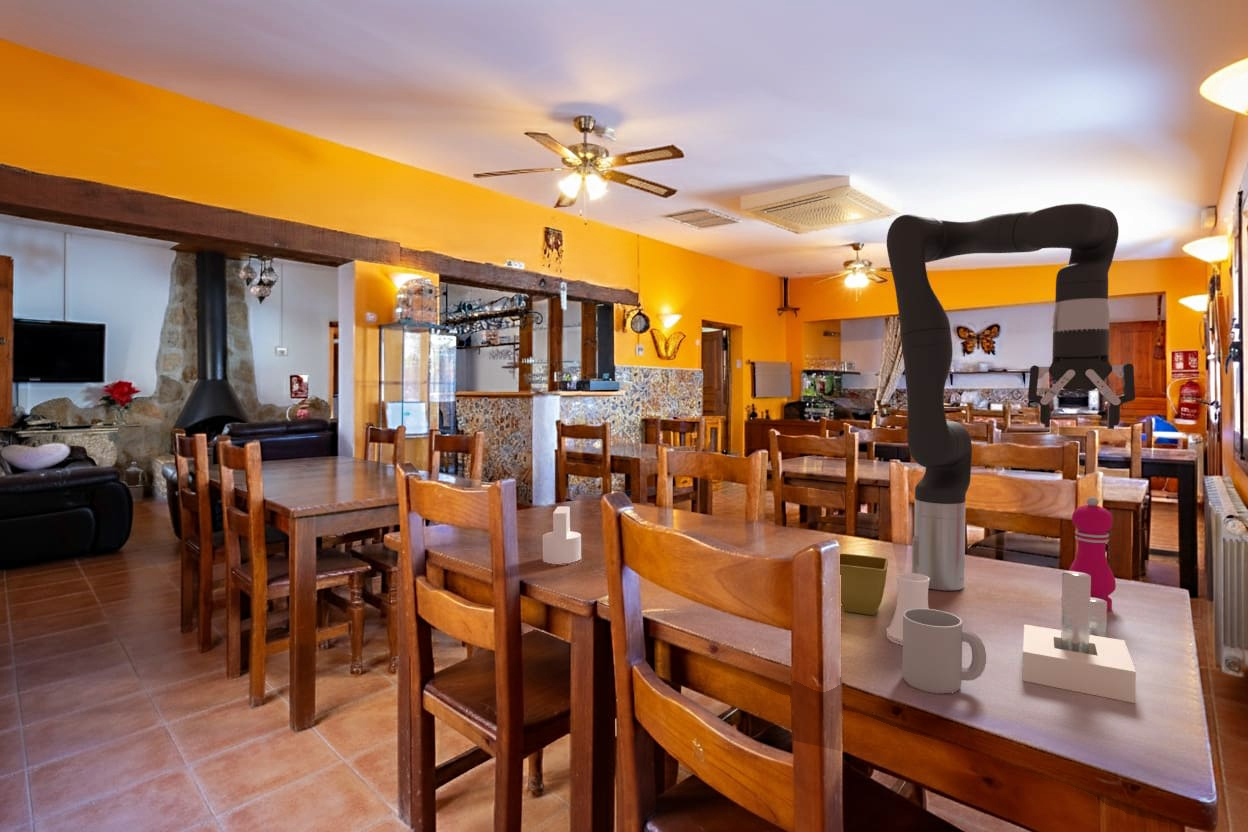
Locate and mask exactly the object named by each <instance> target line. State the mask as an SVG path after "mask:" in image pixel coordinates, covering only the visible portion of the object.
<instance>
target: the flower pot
mask: <svg viewBox="0 0 1248 832" xmlns="http://www.w3.org/2000/svg"><path fill="white" fill-rule="evenodd" d="M839 553H840V575H841V604H842V607H841V608H842V610H843V611H844V612H846V613H847V612H848V613H854V614H855V613H856V614H862V615H867V616H868V615H869V616H874V615H875V614H876V613H877V611H878V610H879V608H880V606H881V604H882V600H883V597H884V592H885V587H886V582H887V575H888V574H887V573H888V566H889V565H888V564H889V559H888V558H887V557H882V556H881V557H880V556H874V555H861V554H854V553H853V554H852V553H843V552H842V553H841V552H839Z"/></svg>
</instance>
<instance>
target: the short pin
mask: <svg viewBox="0 0 1248 832" xmlns="http://www.w3.org/2000/svg"><path fill="white" fill-rule="evenodd" d="M1107 614H1108V611H1107V602H1106V601H1105V600H1102V599H1098V598H1093V597H1090V632H1089V635H1093V636H1100V637H1106V638H1107V625H1108V624H1107V622H1108V621H1107Z"/></svg>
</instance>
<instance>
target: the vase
mask: <svg viewBox="0 0 1248 832" xmlns="http://www.w3.org/2000/svg"><path fill="white" fill-rule="evenodd" d="M895 576H896V585H897V596H896V597H897V600H896V607H895V611H894V615H893V618H892V621H891V623H890V625H889V626H887V627H886V638H887V640H889V641H890V642H892V643H894V644H896V645H899V644H900V646H903V613H904V611H906V610H910V609H919V608H920V609H930V608H929V588H928V587H929V580H930V578H929V577H927V576H925V575H921V574H916V573H912V572H900V573H897V574H896V575H895Z"/></svg>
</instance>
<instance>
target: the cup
mask: <svg viewBox="0 0 1248 832" xmlns="http://www.w3.org/2000/svg"><path fill="white" fill-rule="evenodd" d="M963 642H965V643H967V644H968V645H969V646H970V649H971V662H970V665H969V666H968V667H963ZM901 664H902V678H903V680H904V681H905V682H907V683H908V684H907V683H906V684H907V685H909V684H910V685H911V686H910V685H909V686H910V687H912V686H913V687H912V688H914V687H915V688H917V689H916V690H918V689H920V690H919V691H921V690H922V691H921V692H924V691H926V692H925V693H928V692H931V693H930V694H933V693H936V694H935V695H945V694H944V693H951V694H953V693H952V692H955V693H957V692H958V691H959V690H960V688H961V687H962V681H966V682H968V681H974V680H976V679H977V678H979V677H981V676H982V674H983V673H984V671H985V670H986V669H985V668H986V664H987V651H986V647H985V645H984V642H983V641H982V639H981V638H980V637H979V636H978V635H977V633H975V632H973V631H970V630H969V629H965V628H963V620H962V619H961V617H959V616H957V615H955V614H954V613H951V612H947V611H944V610H939V609H938V610H937V609H933V608H929V609H920V608H919V609H910V610H906V611H904V613H903V645H902V663H901ZM915 688H914V689H915ZM957 690H958V691H957ZM956 691H957V692H956ZM938 693H940V694H938ZM941 693H943V694H941Z"/></svg>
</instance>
